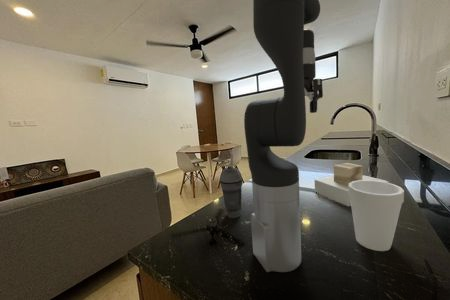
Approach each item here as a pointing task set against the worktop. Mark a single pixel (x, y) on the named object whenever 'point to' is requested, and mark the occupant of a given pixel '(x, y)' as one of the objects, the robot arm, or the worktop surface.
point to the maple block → (347, 173)
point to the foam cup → (375, 212)
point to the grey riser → (337, 189)
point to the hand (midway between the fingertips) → (304, 113)
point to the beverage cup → (231, 190)
